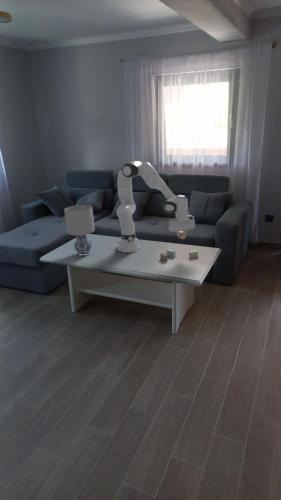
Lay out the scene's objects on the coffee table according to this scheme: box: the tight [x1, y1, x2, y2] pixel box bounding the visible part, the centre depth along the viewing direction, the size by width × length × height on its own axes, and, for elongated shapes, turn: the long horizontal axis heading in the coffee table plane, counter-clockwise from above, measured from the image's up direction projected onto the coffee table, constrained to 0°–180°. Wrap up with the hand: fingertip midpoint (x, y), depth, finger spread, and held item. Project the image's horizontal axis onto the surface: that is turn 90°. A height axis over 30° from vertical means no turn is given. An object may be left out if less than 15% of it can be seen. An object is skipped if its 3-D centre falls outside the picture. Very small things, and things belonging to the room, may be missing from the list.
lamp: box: [63, 204, 95, 255], centre depth 274 cm, size 22×22×38 cm
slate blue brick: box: [166, 249, 176, 258], centre depth 264 cm, size 6×3×4 cm, turn 50°
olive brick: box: [188, 249, 199, 259], centre depth 259 cm, size 6×3×4 cm, turn 110°
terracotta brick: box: [178, 230, 187, 240], centre depth 257 cm, size 6×3×4 cm, turn 20°
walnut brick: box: [159, 252, 168, 262], centre depth 257 cm, size 6×3×4 cm, turn 20°
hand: (182, 235), depth 258 cm, fingers closed on terracotta brick, 3 cm apart
